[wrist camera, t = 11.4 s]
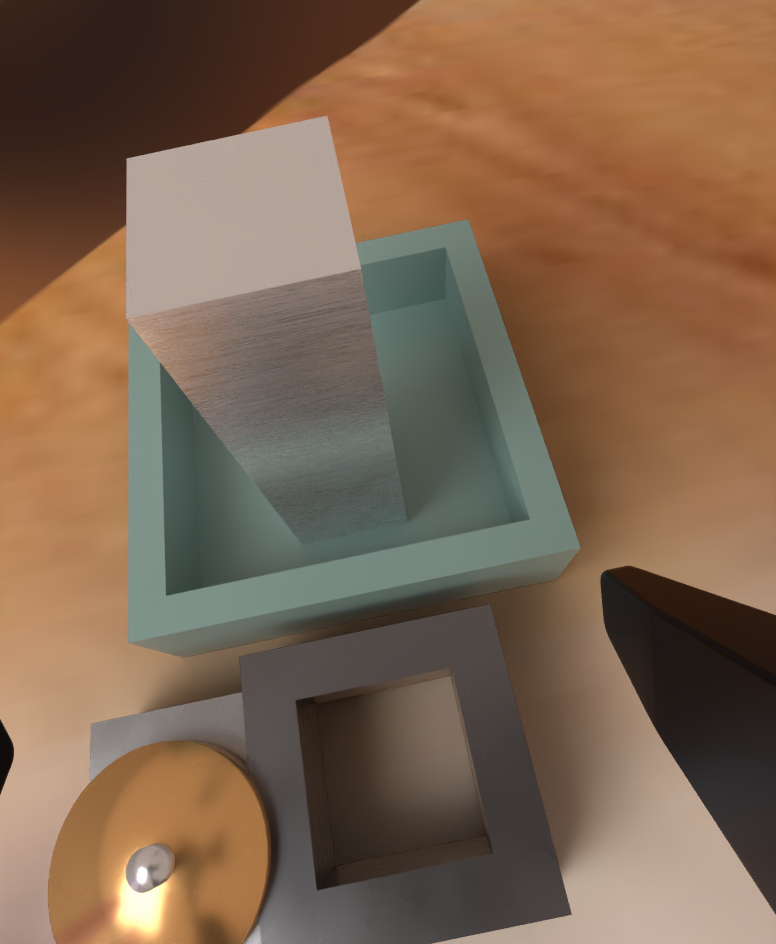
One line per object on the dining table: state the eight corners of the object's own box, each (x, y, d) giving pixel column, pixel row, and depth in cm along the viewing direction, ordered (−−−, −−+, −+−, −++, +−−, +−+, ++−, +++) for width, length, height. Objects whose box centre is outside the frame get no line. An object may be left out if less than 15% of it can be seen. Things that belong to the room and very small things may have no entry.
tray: (557, 579, 21) (580, 547, 17) (182, 657, 21) (128, 643, 18) (465, 288, 27) (468, 219, 23) (171, 350, 27) (128, 291, 23)
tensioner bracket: (562, 926, 17) (595, 982, 13) (114, 1018, 17) (18, 1101, 13) (484, 620, 21) (493, 596, 17) (117, 697, 21) (42, 690, 17)
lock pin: (407, 522, 21) (360, 268, 10) (302, 544, 21) (126, 318, 10) (387, 429, 23) (327, 115, 11) (290, 450, 23) (126, 158, 11)
